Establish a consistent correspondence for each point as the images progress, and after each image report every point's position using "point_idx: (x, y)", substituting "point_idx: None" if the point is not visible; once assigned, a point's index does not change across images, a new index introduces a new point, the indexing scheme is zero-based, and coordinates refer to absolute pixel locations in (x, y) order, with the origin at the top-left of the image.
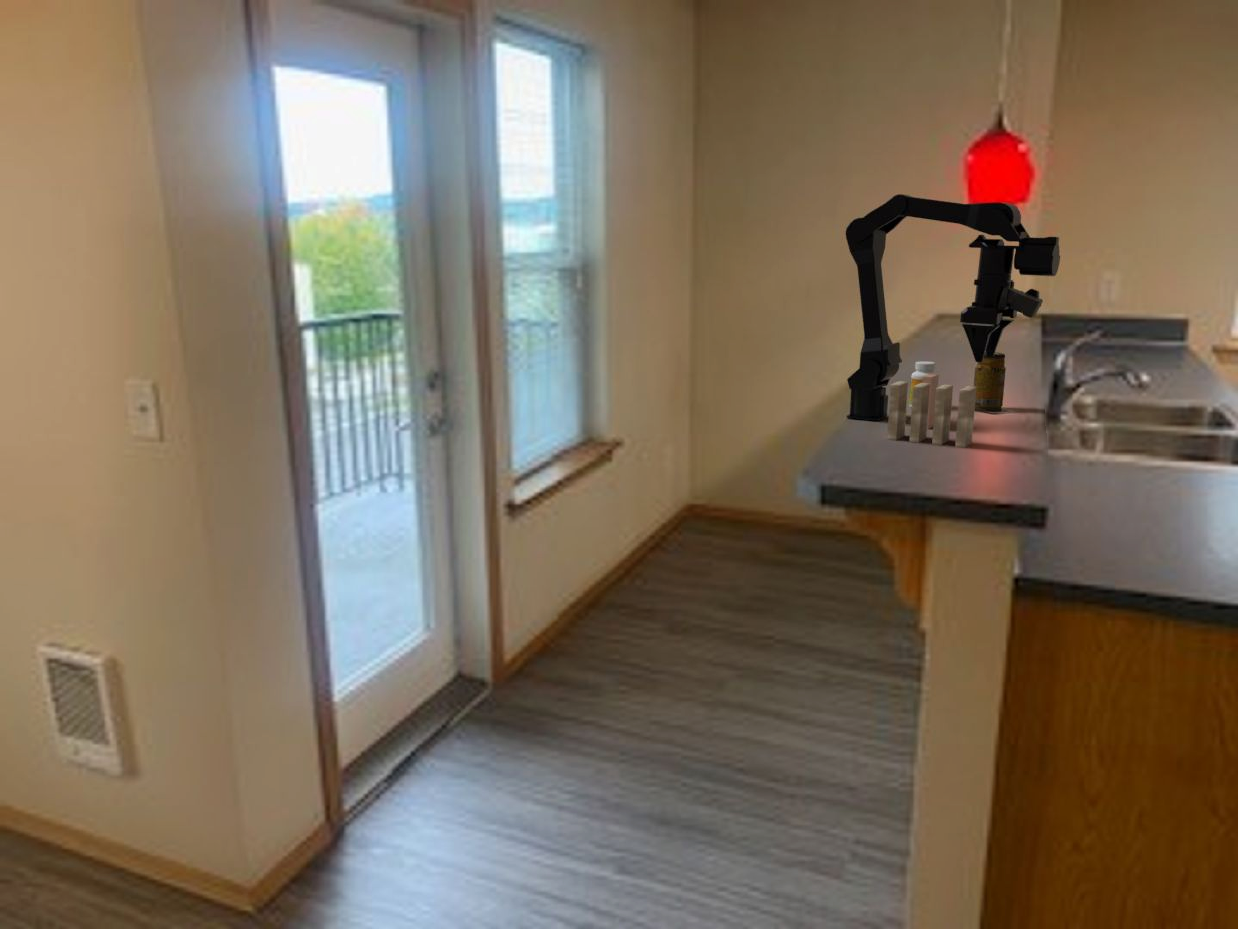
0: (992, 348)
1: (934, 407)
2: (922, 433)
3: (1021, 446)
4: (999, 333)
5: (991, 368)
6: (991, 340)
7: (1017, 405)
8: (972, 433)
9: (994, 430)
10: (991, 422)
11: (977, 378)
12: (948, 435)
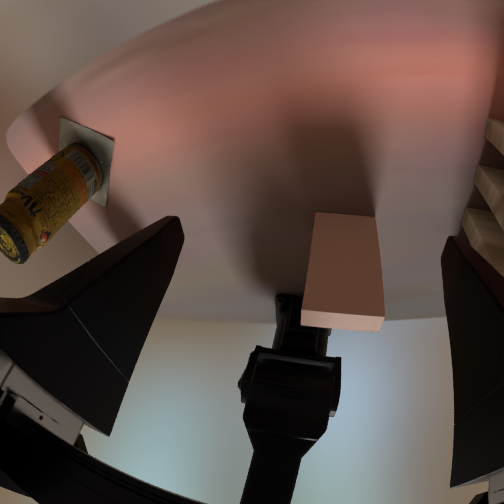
0: (159, 249)
1: (330, 241)
2: (496, 220)
3: (480, 10)
4: (88, 296)
5: (35, 214)
6: (135, 291)
7: (27, 142)
8: (498, 125)
9: (309, 77)
10: (202, 111)
11: (61, 223)
12: (487, 171)
